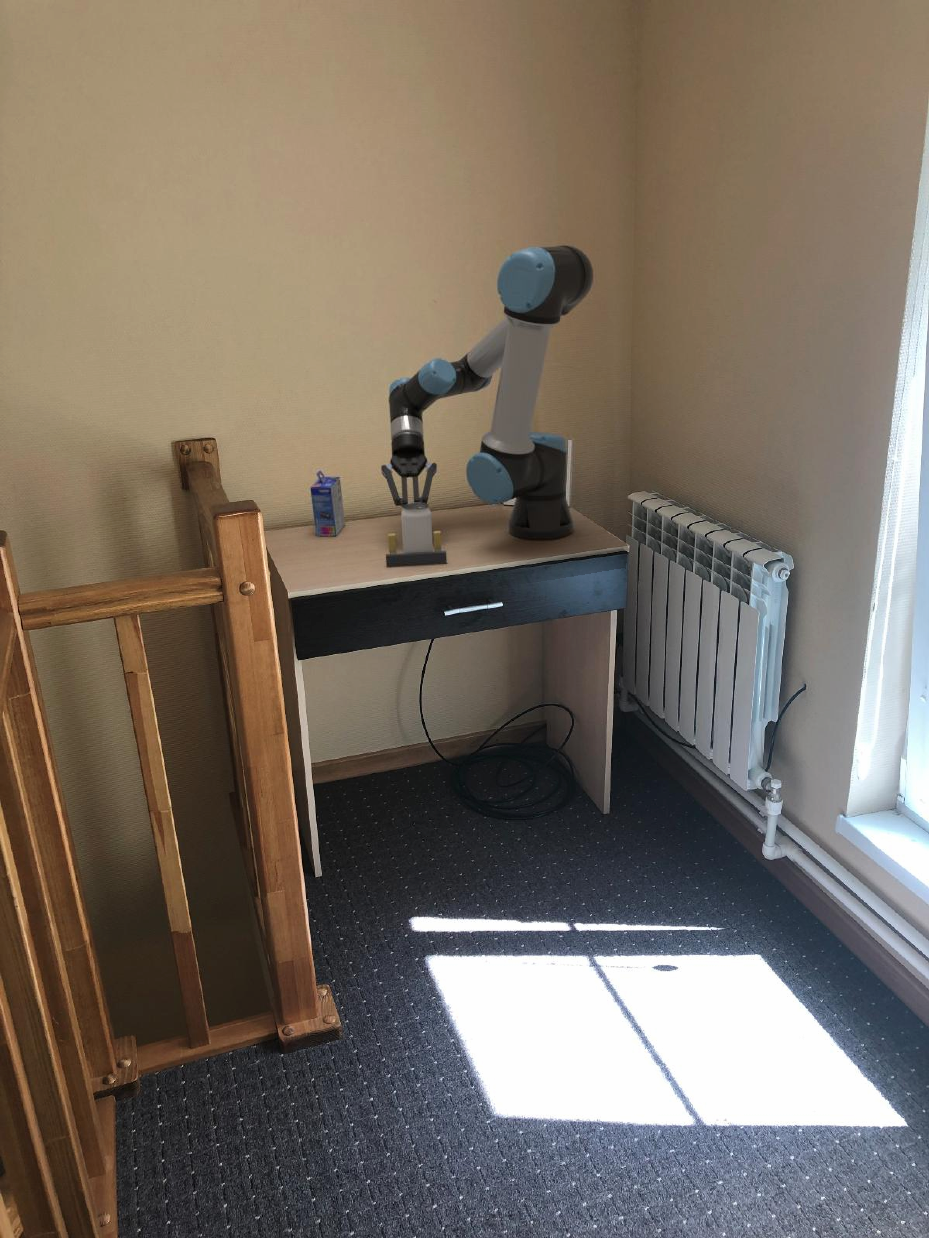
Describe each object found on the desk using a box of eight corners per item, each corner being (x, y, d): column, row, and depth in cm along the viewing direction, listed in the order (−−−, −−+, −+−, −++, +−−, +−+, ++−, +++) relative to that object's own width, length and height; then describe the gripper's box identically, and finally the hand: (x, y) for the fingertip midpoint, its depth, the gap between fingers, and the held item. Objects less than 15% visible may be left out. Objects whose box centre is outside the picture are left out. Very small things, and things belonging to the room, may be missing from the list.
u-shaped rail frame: (441, 537, 240) (440, 516, 238) (446, 563, 222) (445, 541, 220) (386, 540, 239) (384, 520, 237) (386, 567, 221) (385, 544, 219)
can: (438, 559, 225) (436, 506, 220) (413, 565, 221) (410, 511, 217) (423, 552, 230) (420, 500, 225) (398, 558, 226) (395, 505, 222)
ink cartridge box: (323, 524, 253) (318, 467, 248) (345, 524, 252) (340, 466, 247) (314, 536, 244) (308, 477, 239) (337, 536, 243) (331, 476, 238)
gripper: (435, 448, 240) (441, 537, 231) (380, 450, 240) (383, 540, 230) (435, 430, 233) (442, 521, 224) (378, 432, 233) (382, 524, 223)
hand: (412, 531), depth 227 cm, fingers closed
